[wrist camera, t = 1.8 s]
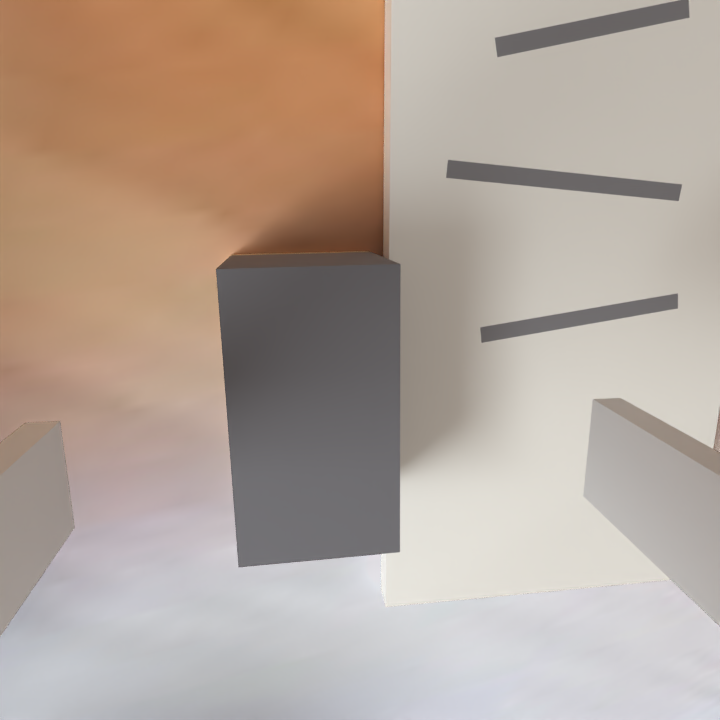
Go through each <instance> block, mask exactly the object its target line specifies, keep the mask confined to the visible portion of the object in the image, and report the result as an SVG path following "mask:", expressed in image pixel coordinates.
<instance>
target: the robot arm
mask: <svg viewBox="0 0 720 720" xmlns="http://www.w3.org/2000/svg"><path fill="white" fill-rule="evenodd" d="M583 496H584V497H585V498H586V499H587V500H588V501H589V502H590V503H591V504H592V505H593V506H594V507H595V508H596V509H597V510H598V511H599V512H600V513H601V514H602V515H603V516H604V517H606V518H607V519H608V520H609V521H610V522H611V523H612V524H613V525H614V526H615V527H616V528H617V529H618V530H619V531H620V532H621V533H622V534H623V535H624V536H625V537H627V538H628V539H629V540H630V541H631V542H632V543H633V544H634V545H635V546H636V547H637V548H638V549H639V550H640V551H641V552H642V553H643V554H644V555H645V556H646V557H647V558H649V559H650V560H651V561H652V562H653V563H654V564H655V565H656V566H657V567H658V568H659V569H660V570H661V571H662V572H663V573H664V574H665V575H666V576H667V577H668V578H669V579H671V580H672V581H673V582H674V583H675V584H676V585H677V586H678V587H679V588H680V589H681V590H682V591H683V592H684V593H685V594H686V595H687V596H688V597H689V598H690V599H691V600H693V601H694V602H695V603H696V604H697V605H698V606H699V607H700V608H701V609H702V610H703V611H704V612H705V613H706V614H707V615H708V616H709V617H710V618H711V619H712V620H714V621H715V622H716V623H717V624H718V625H719V626H720V452H718V451H716V450H714V449H712V448H711V447H709V446H707V445H705V444H703V443H702V442H700V441H698V440H696V439H694V438H692V437H691V436H689V435H687V434H685V433H683V432H682V431H680V430H678V429H676V428H674V427H672V426H671V425H669V424H667V423H665V422H663V421H662V420H660V419H658V418H656V417H654V416H653V415H651V414H649V413H647V412H645V411H643V410H642V409H640V408H638V407H636V406H634V405H633V404H631V403H629V402H627V401H625V400H623V399H622V398H606V399H593V402H592V412H591V422H590V432H589V442H588V452H587V462H586V473H585V483H584V493H583ZM74 528H75V527H74V519H73V512H72V505H71V497H70V490H69V483H68V475H67V468H66V460H65V453H64V446H63V438H62V431H61V424H60V421H55V422H32V423H24V424H23V425H22V426H21V427H19V428H18V429H17V430H16V431H14V432H13V433H12V434H11V435H9V436H8V437H7V438H6V439H4V440H3V441H2V442H0V636H1V635H2V633H3V632H4V630H5V629H6V627H7V626H8V624H9V623H10V621H11V620H12V619H13V617H14V616H15V614H16V613H17V611H18V610H19V608H20V607H21V605H22V604H23V602H24V601H25V600H26V598H27V597H28V595H29V594H30V592H31V591H32V589H33V588H34V586H35V585H36V583H37V582H38V581H39V579H40V578H41V576H42V575H43V573H44V572H45V570H46V569H47V567H48V566H49V564H50V563H51V561H52V560H53V559H54V557H55V556H56V554H57V553H58V551H59V550H60V548H61V547H62V545H63V544H64V542H65V541H66V540H67V538H68V537H69V535H70V534H71V532H72V531H73V529H74Z"/></svg>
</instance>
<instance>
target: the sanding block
mask: <svg viewBox="0 0 720 720" xmlns="http://www.w3.org/2000/svg"><path fill="white" fill-rule="evenodd" d="M216 274H217V287H218V300H219V314H220V327H221V340H222V353H223V367H224V380H225V393H226V406H227V420H228V433H229V446H230V459H231V472H232V486H233V499H234V512H235V525H236V539H237V552H238V565H239V567H247V566H257V565H268V564H279V563H290V562H300V561H311V560H322V559H332V558H343V557H354V556H365V555H375V554H386V553H397V552H400V276H401V264H399V263H397V262H394V261H392V260H389V259H387V258H384V257H382V256H379V255H377V254H374V253H372V252H369V251H349V252H308V253H267V254H232V255H231V256H230V257H229V258H228V259H227V260H226V261H224V262H223V263H222V264H221V265H220V266H219V267H218V268H217V269H216Z"/></svg>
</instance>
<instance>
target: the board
mask: <svg viewBox="0 0 720 720" xmlns="http://www.w3.org/2000/svg"><path fill="white" fill-rule="evenodd" d="M383 257H384V258H387V259H389V260H392V261H394V262H397V263H399V264H401V276H400V552H397V553H386V554H381V591H382V595H383V599H384V602H385V606H386V607H392V606H402V605H413V604H423V603H434V602H444V601H455V600H466V599H476V598H487V597H497V596H508V595H518V594H529V593H539V592H550V591H561V590H571V589H582V588H592V587H603V586H613V585H624V584H634V583H645V582H656V581H666V580H671V579H669V578H668V577H667V576H666V575H665V574H664V573H663V572H662V571H661V570H660V569H659V568H658V567H657V566H656V565H655V564H654V563H653V562H652V561H651V560H650V559H649V558H647V557H646V556H645V555H644V554H643V553H642V552H641V551H640V550H639V549H638V548H637V547H636V546H635V545H634V544H633V543H632V542H631V541H630V540H629V539H628V538H627V537H625V536H624V535H623V534H622V533H621V532H620V531H619V530H618V529H617V528H616V527H615V526H614V525H613V524H612V523H611V522H610V521H609V520H608V519H607V518H606V517H604V516H603V515H602V514H601V513H600V512H599V511H598V510H597V509H596V508H595V507H594V506H593V505H592V504H591V503H590V502H589V501H588V500H587V499H586V498H585V497H584V496H583V493H584V483H585V473H586V462H587V452H588V442H589V432H590V422H591V412H592V402H593V399H606V398H622V399H623V400H625V401H627V402H629V403H631V404H633V405H634V406H636V407H638V408H640V409H642V410H643V411H645V412H647V413H649V414H651V415H653V416H654V417H656V418H658V419H660V420H662V421H663V422H665V423H667V424H669V425H671V426H672V427H674V428H676V429H678V430H680V431H682V432H683V433H685V434H687V435H689V436H691V437H692V438H694V439H696V440H698V441H700V442H702V443H703V444H705V445H707V446H709V447H711V448H712V449H713V447H714V441H715V435H716V428H717V422H718V416H719V409H720V0H385V62H384V207H383Z"/></svg>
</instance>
